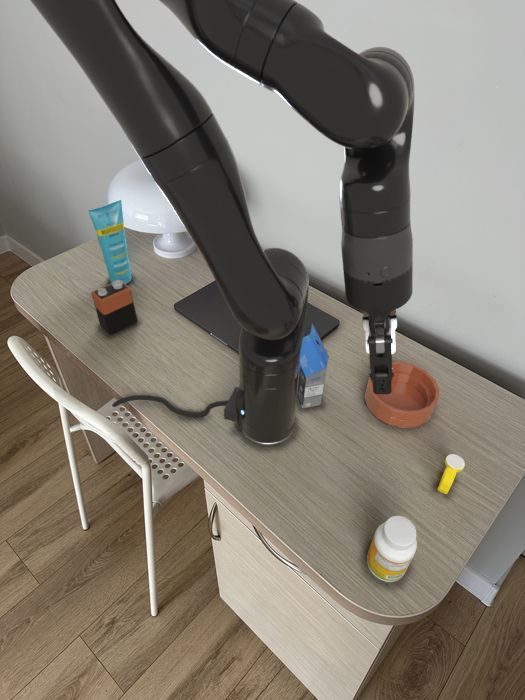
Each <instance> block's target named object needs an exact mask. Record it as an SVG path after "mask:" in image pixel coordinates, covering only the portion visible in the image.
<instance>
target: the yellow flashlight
mask: <svg viewBox="0 0 525 700" xmlns="http://www.w3.org/2000/svg"><path fill="white" fill-rule="evenodd" d="M444 464H445V468H444V471H443V473H442V476H441V478H440V481H439V484H438V487H437V491H438V492H440V493H442V494H445V495H447V494H448V493H449V491H450V490H451V487H452V485H453V483H454V481H455V478H456V476H457V473H459V472H462V471H463V470H464V468H465V466H466V463H465V460H464V459H463V457H461V456H460V455H458V454H456V453H455V454H454V453H452V454H448V455H447V456H446V458H445V459H444Z"/></svg>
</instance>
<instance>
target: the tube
mask: <svg viewBox="0 0 525 700" xmlns="http://www.w3.org/2000/svg"><path fill="white" fill-rule="evenodd" d="M87 213H88V215H89V217H90V219H91V223H92V225H93V228H94V231H95V233H96V236H97V240H98V243H99V247H100V250H101V252H102V257H103V260H104V263H105V267H106V270H107V274H108V277H109V280H110V284H111V283H113V282H114V281H117V280H121V281H122V282H123V283H125V284H126V285H127V284H129V283H130V282H131V281H132V272H131V271H132V270H131V266H130V260H129V252H128V245H127V238H126V230H125V221H124V214H123V213H124V212H123V203H122V199H118V200H115V201H112V202H110V203H107V204H105V205H102V206H98V207H94V208H91V209H88V210H87Z"/></svg>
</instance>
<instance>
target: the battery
mask: <svg viewBox="0 0 525 700" xmlns="http://www.w3.org/2000/svg"><path fill="white" fill-rule="evenodd" d="M91 298H92V301H93V304H94V305H93V306H94V309H95V312H96V315H97V318H98V322H99V326H100V327H101V328H102V330H103V331H105V332H106V333H107V334H108V335H109V336H112V335H114V334H117V333H119V332H120V331H123V330H125V329H127V328H129V327H132V326H133V325H135V324H137V323H138V317H137V316H138V315H137V312H136V307H135V302H134V298H133V293H132V289H131V288H130V287H129V285H127V284H125V283H123V282H122V281H121V280H117V281H114V282H113V283H111V282H110V284H106V285H104V286H102V287H100V288H97V289H95V290H93V291H91Z"/></svg>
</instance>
